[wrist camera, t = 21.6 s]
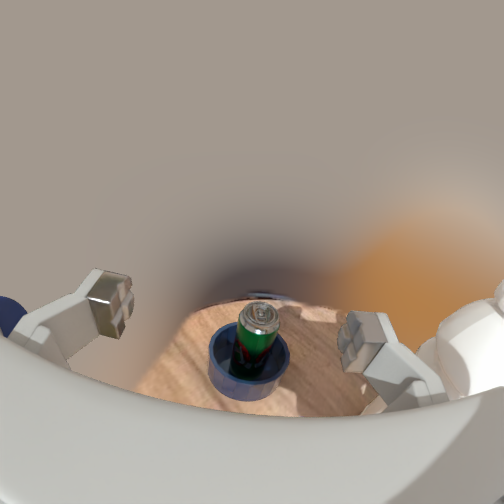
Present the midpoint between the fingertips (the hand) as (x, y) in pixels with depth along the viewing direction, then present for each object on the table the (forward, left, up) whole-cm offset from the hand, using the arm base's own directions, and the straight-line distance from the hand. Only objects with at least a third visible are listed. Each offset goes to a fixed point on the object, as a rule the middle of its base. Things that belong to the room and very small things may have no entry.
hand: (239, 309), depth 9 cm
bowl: (+7, +15, -28) cm, 33 cm away
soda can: (+7, +15, -28) cm, 32 cm away
